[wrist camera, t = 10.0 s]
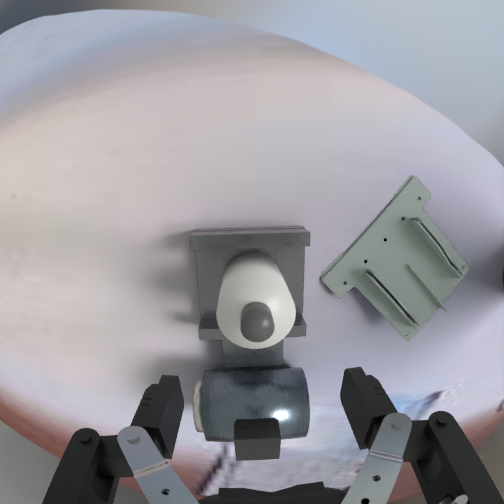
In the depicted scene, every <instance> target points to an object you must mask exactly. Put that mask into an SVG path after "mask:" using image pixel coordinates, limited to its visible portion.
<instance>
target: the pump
mask: <svg viewBox="0 0 504 504" xmlns="http://www.w3.org/2000/svg"><path fill="white" fill-rule="evenodd" d="M295 316H296V309H295V304H294V301H293V299H292V296H291V294H290V292H289V289H288V287H287V285H286V282H285V280H284V278H283V275H282V273H281V271H280V269H279V267H278V265H277V264H276V263H275V262H274V261H273V260H272V259H271V258H269V257H267V256H265V255H262V254H258V253H248V254H244V255H241V256H239V257H237V258H235V259H234V260H233V261H231V262H230V264H229V265H228V266H227V268H226V269H225V272H224V275H223V279H222V284H221V289H220V295H219V300H218V305H217V311H216V318H217V323H218V326H219V328H220V330H221V332H222V333H223V334H224V336H225V337H226V338H227V339H229V340H230V341H231V342H233V343H234V344H236V345H238V346H241V347H244V348H250V349H260V348H266V347H269V346H272V345H274V344H276V343H278V342H279V341H281V340H282V339H283V338H284V337H285V336H286V335H287V334H288V333H289V332H290V330H291V328H292V327H293V324H294V321H295Z"/></svg>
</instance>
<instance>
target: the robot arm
mask: <svg viewBox="0 0 504 504" xmlns="http://www.w3.org/2000/svg"><path fill="white" fill-rule="evenodd" d="M340 398H341V403H342V405H343V408H344V410H345V413H346V415H347V418H348V420H349V423H350V425H351V428H352V430H353V433H354V436H355V438H356V441H357V443H358V446H359V448H360V450H362V449H366V448H368V449H369V453H368V455H367V457H366V459H365V461H364V463H363V465H362V467H361V469H360V471H359V473H358V475H357V477H356V478H355V480H354V482H353V484H352V486H351V487H350V489H349V491H348V493H347V492H345V491H342V490H339V489H335V488H329V487H324V484H323V481H322V482H316V483H309V484H301V485H296V486H293V487H290V488H286V489H283V490H279V491H276V492H265V491H258V490H252V489H246V488H219V494H214V495H211V496H207V497H204V498H202V499H200V500H198V501H197V500H196V499H195V498H194V496H193V495H192V494H191V493H190V491H189V490H188V489H187V488H186V486H185V485H184V484H183V482H182V481H181V480H180V478H179V477H178V476H177V474H176V473H175V471H174V470H173V469H172V467H171V466H170V464H169V463H168V462H166V461H165V460H164V458H165V459H172V455H173V451H174V446H175V442H176V438H177V434H178V430H179V426H180V421H181V417H182V413H183V409H184V399H183V395H182V390H181V386H180V381H179V377H178V376H173V375H162V376H161V379H160V381H159V384H152V385H151V386H150V387H148V388H147V389H146V390H145V392H144V395H143V397H142V399H141V402H140V405H139V406H138V409H137V411H136V413H135V416H134V418H133V420H132V423H131V425H130V426H129V427H126V428H124V429H122V430H121V431H120V432H119V433H118V435H113V436H99V434H98V432H97V431H95V430H93V429H91V428H83V429H80V430H78V431H76V432H75V433H74V434H73V436H72V438H71V440H70V442H69V444H68V446H67V448H66V450H65V452H64V454H63V457H62V459H61V461H60V463H59V466H58V467H57V470H56V472H55V474H54V476H53V479H52V481H51V484H50V486H49V488H48V490H47V493H46V495H45V498H44V500H43V503H42V504H113V502H114V497H115V494H116V490H117V486H118V483H119V479H120V477H133V476H134V477H135V478H136V480H137V482H138V484H139V486H140V487H141V489H142V491H143V493H144V494H145V496H146V498H147V499H148V501H149V502H150V504H386V503H387V500H388V498H389V496H390V493H391V491H392V489H393V486H394V484H395V481H396V479H397V476H398V474H399V471H400V468H401V465H402V463H403V462H411V465H412V467H413V470H414V472H415V474H416V477H417V479H418V482H419V484H420V487H421V489H422V492H423V494H424V496H425V499H426V502H427V504H504V501H503V499H502V497H501V495H500V493H499V491H498V490H497V488H496V486H495V484H494V482H493V480H492V479H491V477H490V475H489V473H488V472H487V470H486V468H485V466H484V465H483V463H482V461H481V460H480V458H479V456H478V455H477V453H476V451H475V450H474V448H473V447H472V445H471V443H470V442H469V440H468V439H467V437H466V435H465V434H464V432H463V431H462V429H461V428H460V426H459V425H458V423H457V422H456V420H455V419H454V417H453V416H452V415H451V414H450V413H448V412H445V411H437V412H434V413H432V414H431V415H430V417H429V419H428V420H417V421H413V420H411V419H410V418H409V417H408V416H407V415H405V414H403V413H398V412H397V410H396V408H395V407H394V405H393V403H392V402H391V400H390V398H389V397H388V395H387V394H386V392H385V390H384V389H383V388H382V385H381V384H380V382H379V381H378V380H377V379H376V378H375V377H373V376H372V375H367V376H366V374H365V373H364V371H363V369H362V368H361V367H355V368H348V369H345V371H344V376H343V382H342V387H341V392H340Z"/></svg>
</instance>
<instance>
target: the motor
mask: <svg viewBox="0 0 504 504" xmlns="http://www.w3.org/2000/svg"><path fill="white" fill-rule="evenodd" d="M190 246H191V250H195V257H196V270H197V282H198V293H199V304H200V314H201V321H200V325H199V328H198V330H199V339H200V340H222V348H223V359H224V367H259V366H278V365H282V360H283V339H282V340H281V341H279V342H278V343H276V344H274V345H272V346H269V347H266V348H260V349H250V348H244V347H241V346H238V345H236V344H234V343H233V342H231V341H230V340H229V339H227V338H226V337H225V336H224V334H223V333H222V332H221V330H220V328H219V326H218V323H217V318H216V311H217V305H218V300H219V295H220V289H221V284H222V279H223V275H224V272H225V269H226V268H227V266H228V265H229V264H230V262H231V261H233V260H234V259H235V258H237V257H239V256H241V255H244V254H248V253H258V254H262V255H265V256H267V257H269V258H271V259H272V260H273V261H274V262H275V263H276V264H277V265H278V267H279V269H280V271H281V273H282V275H283V278H284V280H285V282H286V285H287V287H288V289H289V292H290V294H291V296H292V299H293V301H294V304H295V309H296V316H295V321H294V324H293V327H292V328H291V330H290V332H289V333H288V334H287V335H286V336H285V337H284V338H286V337H300V336H306V323H305V321H304V319H303V316H302V311H303V289H304V257H305V246H310V232H309V231H308V230H306V229H305V228H304V227H303V226H289V227H247V228H216V229H195V230H194V232H193V233H192V234H191V235H190ZM193 417H194V424H195V428H196V430H197V432H204V435H205V438H206V440H207V441H214V442H234V444H235V453H236V461H238V460H266V459H279V456H280V443H281V440H282V439H292V438H301V437H306V436H307V433H308V429H309V420H310V406H309V394H308V387H307V382H306V378H305V374H304V372H303V370H302V368H300V367H299V368H287V369H271V370H250V371H206V372H205V373H204V377H203V380H196V382H195V386H194V392H193Z"/></svg>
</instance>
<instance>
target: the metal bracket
mask: <svg viewBox="0 0 504 504" xmlns="http://www.w3.org/2000/svg"><path fill="white" fill-rule="evenodd" d="M418 197H420V199H421V200H418ZM430 197H431V194H430V192H429V191H428V190H427V188H426V187H425V186H424V185H423V184H422V183H421V182H420V181H419V180H418V178H417V177H415V176H409V178H408V179H407V180H406V181H405V182H404V184H403V185H402V186H401V187H400V188H399V190H398V191H397V192H396V193H395V194H394V199H393V200H392V201H391V202H390V204H389V205H388V206H387V207H386V208H385V209H384V211H383V212H382V213H381V214H380V215H379V216H378V217H377V219H376V220H375V221H374V222H373V223H372V224H371V225H370V226H369V228H368V229H367V230H366V231H365V232H364V233H363V234H362V235H361V236H360V237H359V239H358V240H357V241H356V242H355V243H354V244H353V245H352V246H351V247H350V248H349V249H348V250H347V252H346V253H344V254H342V253H341V254H340V255H339V256H338V257H337V258H336V259H335V260H334V261H333V262H332V263H331V264H330V265H329V266H328V267H327V268H326V269H325V270H324V271H323V272H322V275H321V280H322V282H323V283H324V284H325V285H326V286H327V287H328V288H329V289H330V290H331V291H332V292H333V293H334V294H335V295H336V296H337V297H339V298H342V297H344V296H345V295H346V294H347V293H348V292H349V291H350V290H351V289H352V288H353V287H356V288H357V289H358V290H359V291H360V292H361V293H362V294H363V295H364V296H365V297H366V298H367V299H368V300H369V301H370V302H371V303H372V305H373V306H374V307H375V308H376V309H377V310H378V311H379V312H380V313H381V314H382V315H383V316H384V317H385V318H386V319H387V321H388V322H389V323H390V324H391V325H392V326H393V327H394V328H395V329H396V330H397V331H398V333H399V334H400V335H401V336H402V337H403V338H404V339H405V340H406V341H409V340H410V339H411V338H412V337H413V336H414V335H415V334H416V333H417V332H418V331H419V330H420V329H421V328H422V327H423V326H424V324H425V323H426V322H427V321H428V320H429V319H430V318H431V317H432V315H433V314H434V313H435V312H436V311H437V310H438V308H439V307H440V308H441V309H443V310H444V311H446V312H447V311H448V310H447V309H446V307H445V306H444V305H443V303H444V301H445V300H446V299H447V298H448V296H449V295H450V294H451V293H452V291H453V290H454V289H455V288H456V286H457V285H458V284H459V282H460V281H461V280H462V278H463V277H464V276H465V274H466V273H467V272H468V266H467V265H466V263H465V262H464V260H463V259H462V258H461V256H460V255H459V253H458V252H457V251H456V249H455V248H454V247H453V245H452V244H451V243H450V242H449V240H448V239H447V238H446V236H445V235H444V234H443V233H442V231H441V230H440V229H439V228H438V226H437V225H436V224H435V223H434V222H433V220H432V219H431V218H430V217H429V216H428V215H427V213H426V212H425V211H424V209H423V207H424V205H425V204H426V203H427V201H428V200H429V199H430ZM402 217H404V221H403V220H402ZM384 238H386V239H387V240H386V242H385V241H384ZM364 260H367V263H364ZM462 265H464V268H463V269H461V266H462ZM345 281H346V282H347V284H346V285H344V284H343V283H344V282H345ZM407 331H408V335H406V336H405V332H407Z"/></svg>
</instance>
